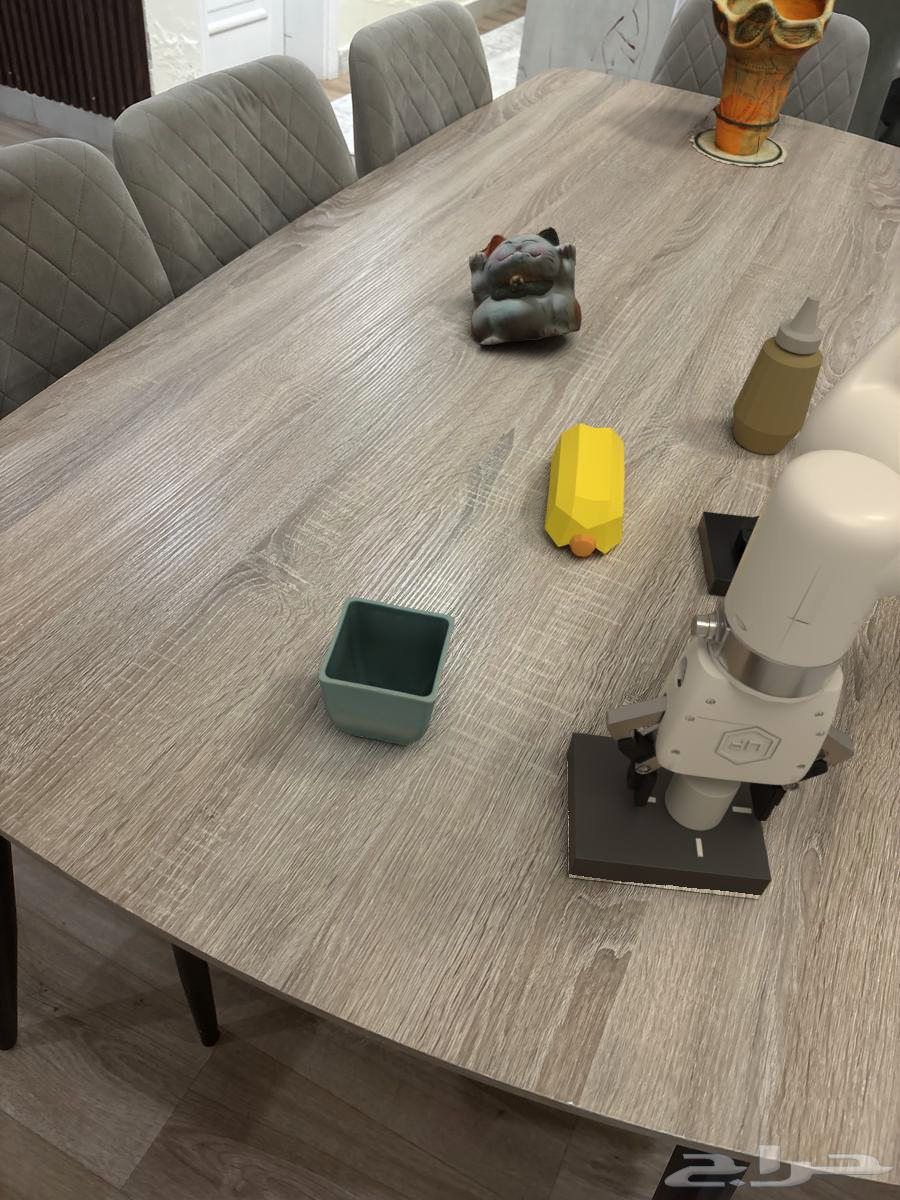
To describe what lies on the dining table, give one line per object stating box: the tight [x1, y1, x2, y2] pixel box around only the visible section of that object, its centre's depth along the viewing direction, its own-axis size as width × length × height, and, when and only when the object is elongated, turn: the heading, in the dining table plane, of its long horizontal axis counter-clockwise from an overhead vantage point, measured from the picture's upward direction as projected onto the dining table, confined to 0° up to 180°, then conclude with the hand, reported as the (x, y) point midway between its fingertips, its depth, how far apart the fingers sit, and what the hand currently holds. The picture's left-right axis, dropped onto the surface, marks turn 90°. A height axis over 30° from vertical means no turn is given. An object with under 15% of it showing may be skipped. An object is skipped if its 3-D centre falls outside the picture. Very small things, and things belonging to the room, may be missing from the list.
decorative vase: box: [688, 0, 836, 168], centre depth 165 cm, size 21×23×28 cm
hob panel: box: [566, 731, 773, 896], centre depth 71 cm, size 14×11×3 cm
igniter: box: [697, 511, 760, 598], centre depth 93 cm, size 12×10×4 cm
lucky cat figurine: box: [468, 226, 583, 347], centre depth 118 cm, size 15×12×14 cm
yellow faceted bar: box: [544, 422, 626, 558], centre depth 96 cm, size 18×7×8 cm
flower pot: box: [317, 596, 456, 746], centre depth 74 cm, size 9×9×9 cm
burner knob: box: [665, 772, 741, 831], centre depth 68 cm, size 4×4×5 cm
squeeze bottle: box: [732, 294, 824, 455], centre depth 103 cm, size 8×8×18 cm
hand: (697, 796), depth 69 cm, fingers open, 8 cm apart
